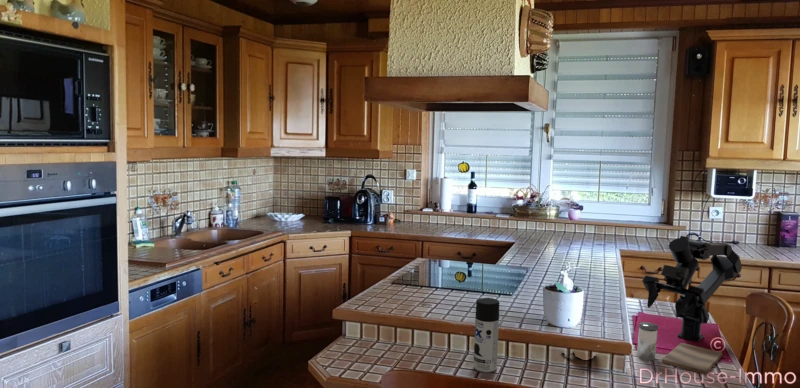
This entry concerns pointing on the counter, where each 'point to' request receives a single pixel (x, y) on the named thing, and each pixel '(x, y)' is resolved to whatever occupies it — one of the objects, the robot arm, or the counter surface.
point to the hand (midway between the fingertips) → (662, 310)
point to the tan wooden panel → (692, 358)
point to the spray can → (486, 335)
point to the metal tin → (647, 340)
